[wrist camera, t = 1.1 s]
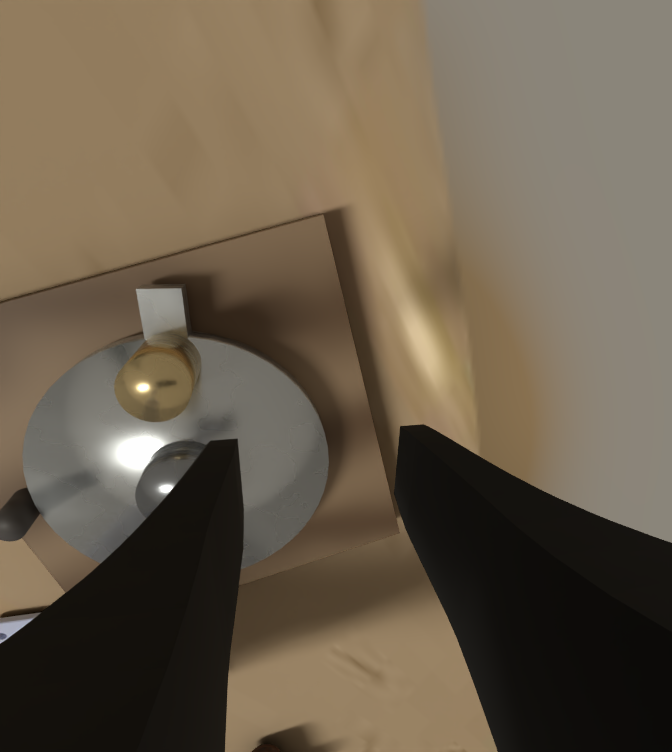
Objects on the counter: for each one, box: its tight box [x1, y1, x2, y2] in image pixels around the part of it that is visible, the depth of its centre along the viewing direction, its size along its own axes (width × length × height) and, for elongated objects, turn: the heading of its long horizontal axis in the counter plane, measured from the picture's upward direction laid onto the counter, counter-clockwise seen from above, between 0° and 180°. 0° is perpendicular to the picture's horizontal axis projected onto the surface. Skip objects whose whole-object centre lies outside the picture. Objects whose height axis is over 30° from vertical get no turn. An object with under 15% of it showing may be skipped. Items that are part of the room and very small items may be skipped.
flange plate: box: [22, 284, 329, 569], centre depth 17 cm, size 15×13×4 cm
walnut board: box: [0, 214, 400, 592], centre depth 19 cm, size 18×18×3 cm
